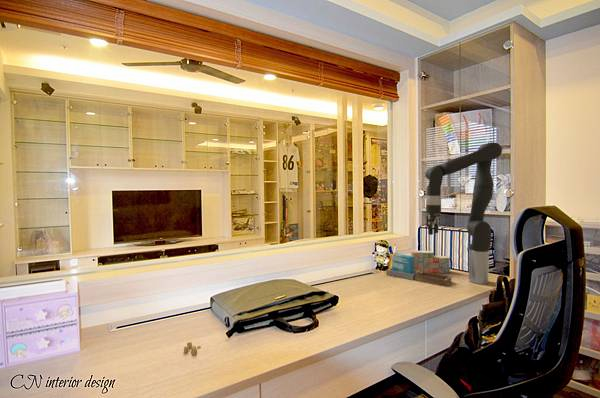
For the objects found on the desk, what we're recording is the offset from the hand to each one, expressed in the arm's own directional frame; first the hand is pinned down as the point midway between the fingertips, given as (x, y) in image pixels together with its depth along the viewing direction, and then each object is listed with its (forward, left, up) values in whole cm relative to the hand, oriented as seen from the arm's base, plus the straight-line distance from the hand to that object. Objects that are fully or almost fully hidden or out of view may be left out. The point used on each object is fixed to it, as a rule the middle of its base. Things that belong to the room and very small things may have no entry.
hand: (433, 233), depth 172 cm
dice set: (+126, -32, -27) cm, 132 cm away
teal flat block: (0, -17, -26) cm, 31 cm away
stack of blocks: (-20, -9, -26) cm, 34 cm away
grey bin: (0, -17, -26) cm, 31 cm away
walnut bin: (0, 0, -26) cm, 26 cm away
